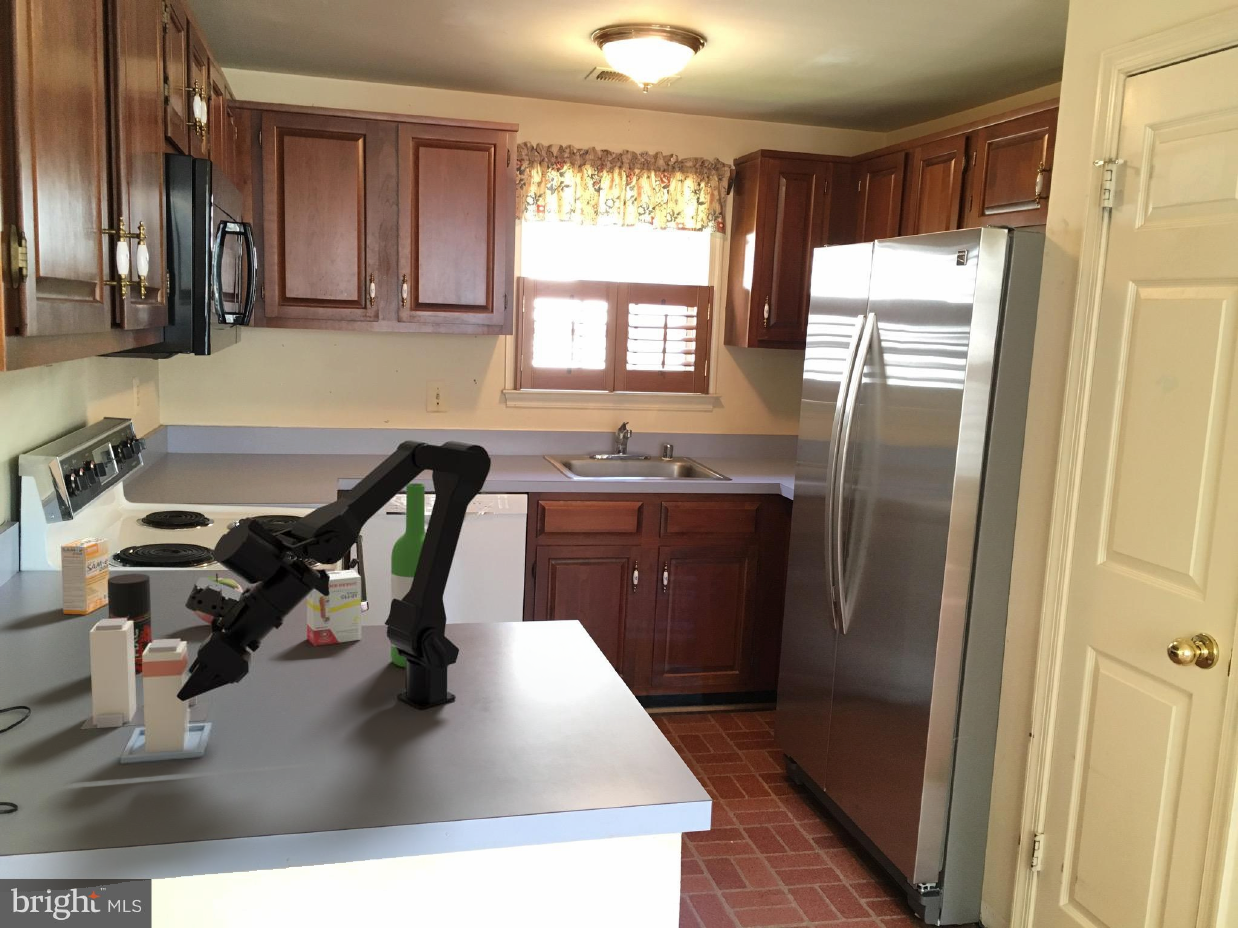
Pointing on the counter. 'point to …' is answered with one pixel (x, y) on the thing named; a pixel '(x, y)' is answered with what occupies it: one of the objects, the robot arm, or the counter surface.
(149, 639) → the deodorant
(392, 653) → the wine bottle
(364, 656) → the counter surface
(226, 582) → the decorative fruit
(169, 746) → the block
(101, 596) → the supplement box
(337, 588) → the ink box
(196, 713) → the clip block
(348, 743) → the counter surface
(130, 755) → the tray
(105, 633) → the block
